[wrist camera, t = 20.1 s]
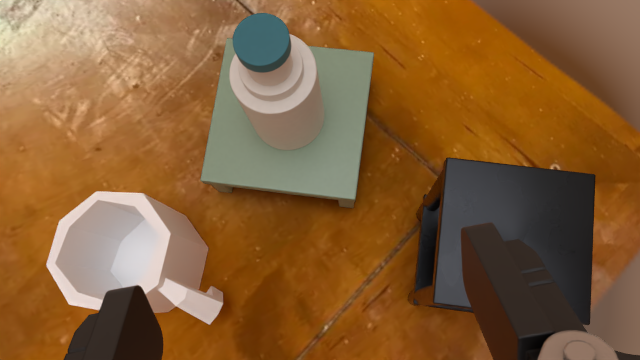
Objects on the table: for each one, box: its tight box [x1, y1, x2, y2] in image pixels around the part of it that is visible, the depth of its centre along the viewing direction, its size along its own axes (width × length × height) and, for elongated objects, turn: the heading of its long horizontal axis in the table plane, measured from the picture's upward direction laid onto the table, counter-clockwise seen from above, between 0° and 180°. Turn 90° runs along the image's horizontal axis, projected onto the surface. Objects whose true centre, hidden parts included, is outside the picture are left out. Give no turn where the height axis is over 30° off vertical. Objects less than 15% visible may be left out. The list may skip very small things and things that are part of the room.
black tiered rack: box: [408, 158, 595, 325], centre depth 38 cm, size 8×8×16 cm
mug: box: [46, 191, 223, 325], centre depth 42 cm, size 12×9×10 cm
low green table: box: [200, 38, 374, 208], centre depth 46 cm, size 12×12×5 cm
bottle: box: [229, 13, 324, 150], centre depth 38 cm, size 6×6×13 cm
